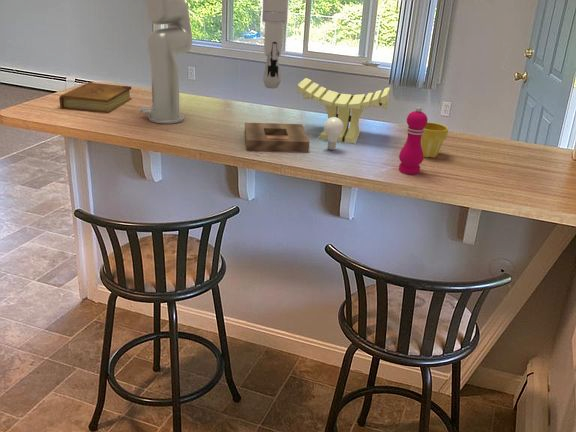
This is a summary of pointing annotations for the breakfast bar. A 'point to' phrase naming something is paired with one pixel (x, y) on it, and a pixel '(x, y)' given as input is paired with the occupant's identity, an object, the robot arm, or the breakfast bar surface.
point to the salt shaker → (271, 81)
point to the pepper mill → (413, 143)
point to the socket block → (276, 137)
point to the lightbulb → (333, 131)
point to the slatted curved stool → (343, 106)
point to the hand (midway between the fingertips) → (272, 77)
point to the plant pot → (433, 138)
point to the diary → (95, 98)
